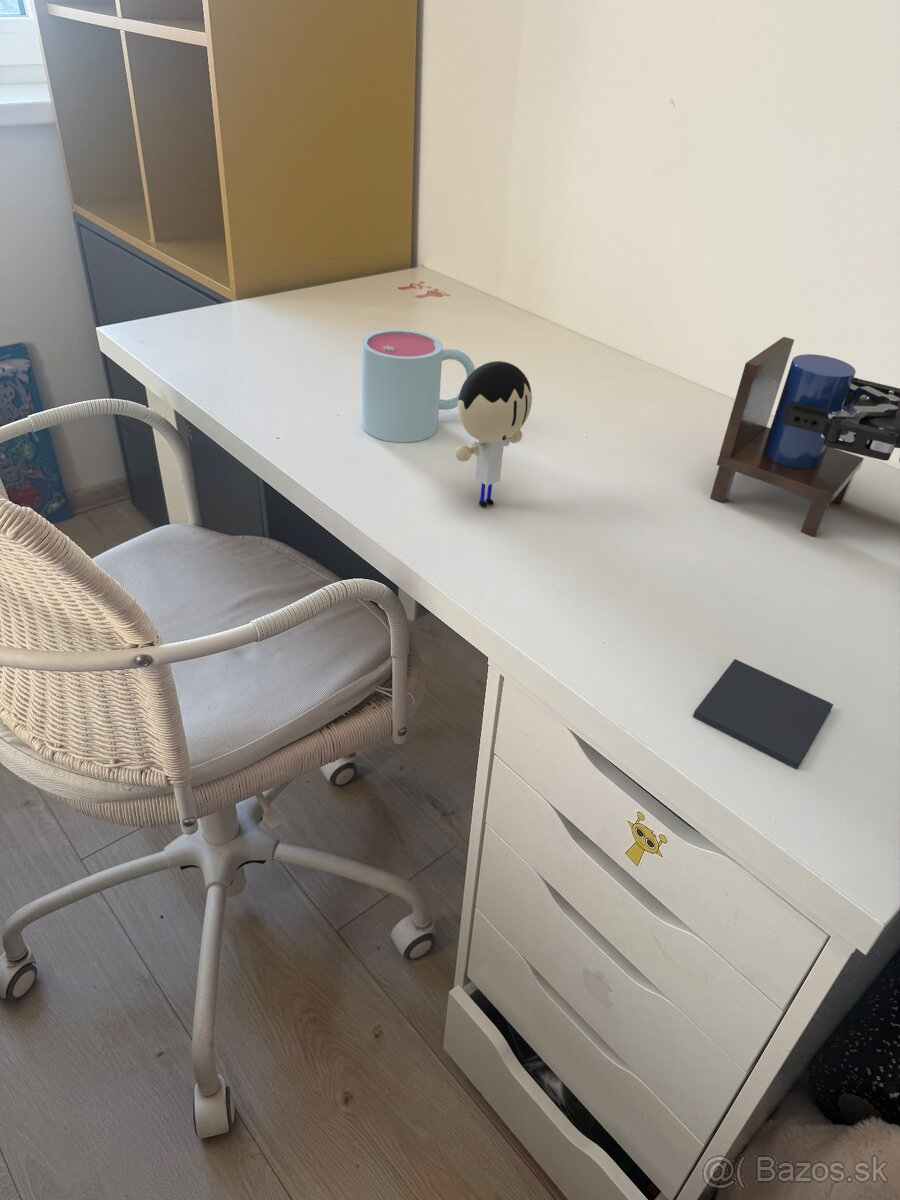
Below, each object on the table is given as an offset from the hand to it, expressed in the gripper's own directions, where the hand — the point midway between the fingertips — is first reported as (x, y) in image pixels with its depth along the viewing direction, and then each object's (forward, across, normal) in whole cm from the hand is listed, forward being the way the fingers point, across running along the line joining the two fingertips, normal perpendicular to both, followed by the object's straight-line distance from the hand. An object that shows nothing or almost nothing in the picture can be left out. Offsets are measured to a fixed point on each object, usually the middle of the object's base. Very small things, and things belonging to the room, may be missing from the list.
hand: (791, 398), depth 85 cm
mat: (-7, +36, +11) cm, 38 cm away
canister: (-2, 0, +6) cm, 6 cm away
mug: (+40, +7, +11) cm, 42 cm away
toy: (+24, +20, +11) cm, 33 cm away
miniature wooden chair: (-2, 0, +11) cm, 11 cm away
